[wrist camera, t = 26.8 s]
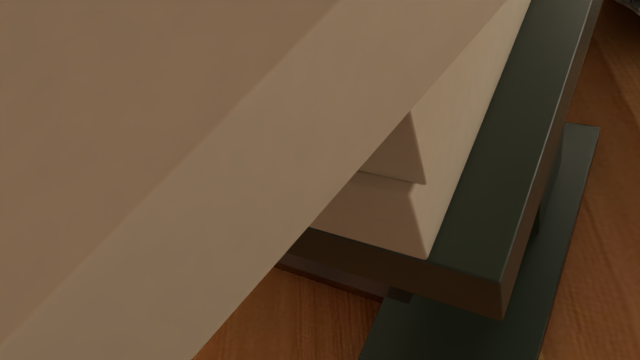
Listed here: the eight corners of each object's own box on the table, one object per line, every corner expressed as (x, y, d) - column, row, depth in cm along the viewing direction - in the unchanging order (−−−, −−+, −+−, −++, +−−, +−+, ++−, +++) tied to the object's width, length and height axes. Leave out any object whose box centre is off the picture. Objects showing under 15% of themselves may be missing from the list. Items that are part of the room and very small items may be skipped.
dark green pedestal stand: (350, 392, 28) (80, 56, 11) (467, 113, 37) (421, -326, 19) (510, 461, 25) (490, 121, 7) (599, 133, 33) (689, -386, 16)
